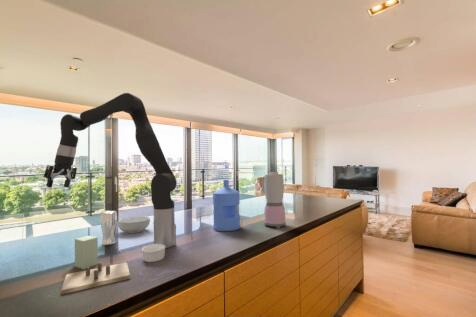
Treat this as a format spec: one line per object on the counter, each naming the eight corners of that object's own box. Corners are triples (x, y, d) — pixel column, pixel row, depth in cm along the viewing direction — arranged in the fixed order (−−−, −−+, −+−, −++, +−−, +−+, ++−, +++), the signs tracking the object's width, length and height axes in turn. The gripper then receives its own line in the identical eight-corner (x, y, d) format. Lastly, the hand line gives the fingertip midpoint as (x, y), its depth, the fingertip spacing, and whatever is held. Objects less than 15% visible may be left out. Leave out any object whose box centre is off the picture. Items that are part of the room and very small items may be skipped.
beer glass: (110, 245, 109) (109, 213, 110) (97, 245, 111) (97, 213, 111) (120, 241, 116) (120, 210, 117) (108, 240, 118) (108, 210, 118)
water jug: (207, 229, 135) (206, 180, 136) (224, 223, 147) (223, 179, 148) (229, 233, 126) (228, 181, 127) (245, 226, 139) (244, 179, 140)
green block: (74, 266, 87) (74, 238, 88) (88, 261, 92) (88, 235, 92) (83, 269, 84) (83, 241, 85) (97, 264, 88) (97, 237, 89)
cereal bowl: (156, 230, 136) (156, 217, 137) (129, 237, 122) (129, 223, 123) (138, 226, 145) (138, 215, 146) (111, 233, 131) (111, 220, 132)
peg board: (126, 265, 87) (126, 255, 87) (129, 278, 76) (129, 266, 76) (66, 277, 78) (66, 266, 78) (61, 294, 67) (61, 281, 67)
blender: (290, 225, 139) (288, 171, 140) (277, 229, 131) (275, 172, 132) (269, 221, 151) (268, 171, 152) (256, 225, 143) (255, 172, 144)
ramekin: (165, 261, 90) (165, 249, 90) (140, 264, 88) (140, 252, 88) (165, 253, 99) (165, 242, 99) (143, 255, 96) (143, 245, 96)
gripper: (57, 154, 108) (49, 189, 107) (84, 157, 122) (76, 188, 121) (45, 151, 110) (36, 185, 109) (72, 155, 124) (65, 185, 123)
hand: (57, 187), depth 115 cm, fingers open, 8 cm apart
